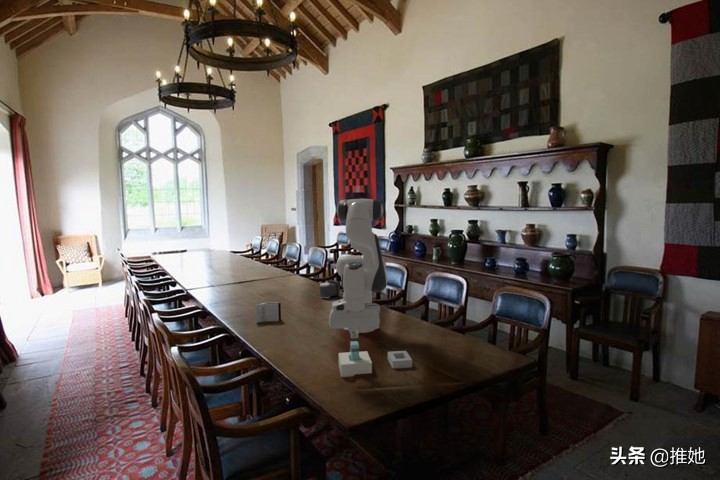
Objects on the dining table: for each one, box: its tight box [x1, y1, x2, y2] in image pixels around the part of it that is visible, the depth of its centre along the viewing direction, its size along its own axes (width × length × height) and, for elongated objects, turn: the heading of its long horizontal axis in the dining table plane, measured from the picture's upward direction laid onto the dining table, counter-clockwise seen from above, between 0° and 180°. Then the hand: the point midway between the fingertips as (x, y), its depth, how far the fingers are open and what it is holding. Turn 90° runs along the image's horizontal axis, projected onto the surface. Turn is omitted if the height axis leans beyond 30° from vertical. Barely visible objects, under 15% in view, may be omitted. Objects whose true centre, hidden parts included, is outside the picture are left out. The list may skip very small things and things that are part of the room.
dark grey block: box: [318, 279, 341, 300], centre depth 283 cm, size 11×13×11 cm
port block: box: [338, 350, 373, 378], centre depth 164 cm, size 12×12×5 cm
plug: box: [349, 340, 360, 361], centre depth 163 cm, size 4×3×10 cm
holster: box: [387, 350, 413, 369], centre depth 168 cm, size 10×8×4 cm
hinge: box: [254, 301, 282, 324], centre depth 229 cm, size 14×5×10 cm, turn 104°
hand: (354, 337), depth 162 cm, fingers closed
